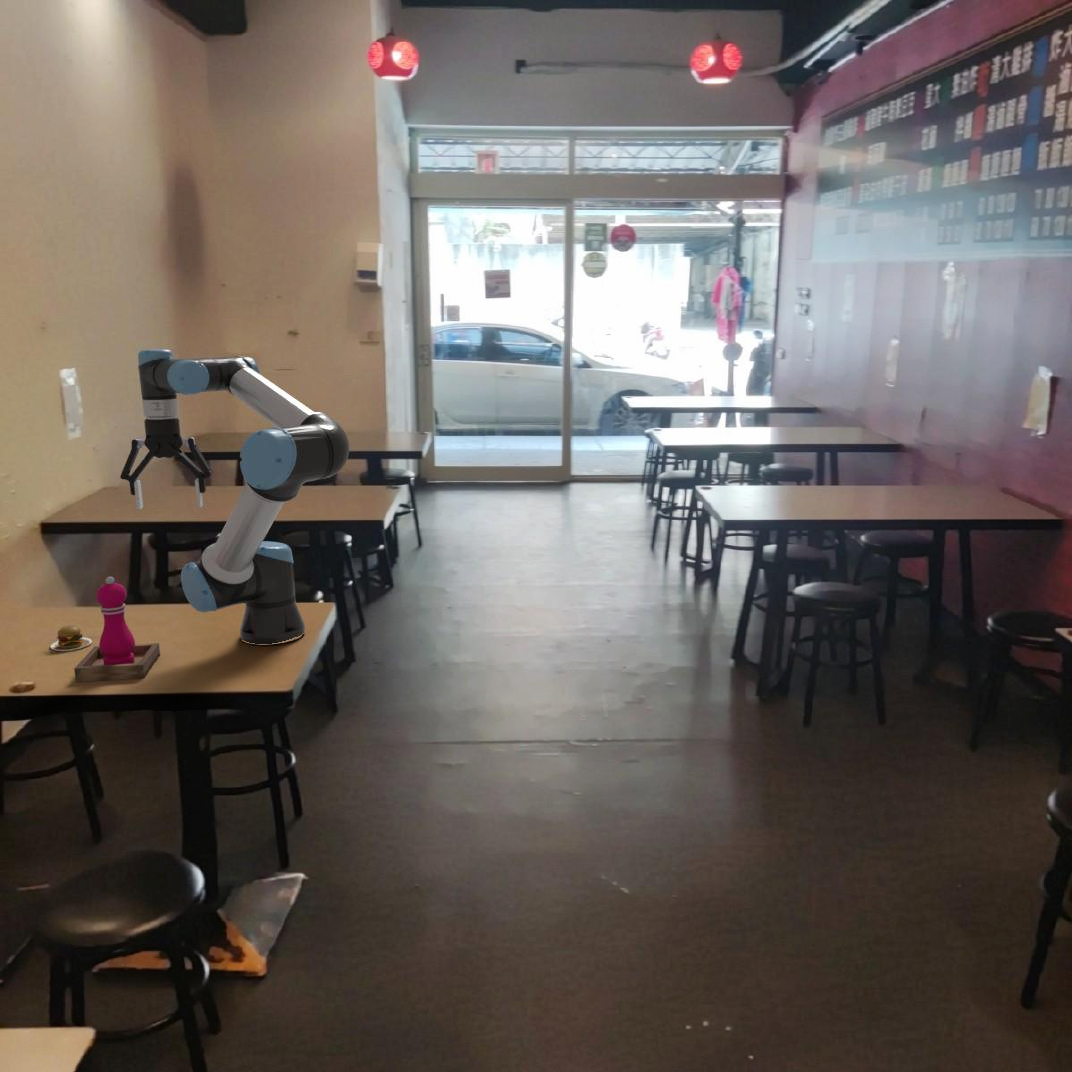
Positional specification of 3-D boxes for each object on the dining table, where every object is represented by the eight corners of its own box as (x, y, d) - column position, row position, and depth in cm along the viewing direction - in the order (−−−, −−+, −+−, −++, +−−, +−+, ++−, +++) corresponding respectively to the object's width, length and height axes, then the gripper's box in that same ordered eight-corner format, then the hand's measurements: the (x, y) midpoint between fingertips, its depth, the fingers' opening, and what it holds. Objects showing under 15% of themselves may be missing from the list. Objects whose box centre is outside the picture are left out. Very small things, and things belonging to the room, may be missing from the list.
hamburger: (103, 637, 233) (101, 616, 232) (93, 654, 222) (91, 632, 221) (50, 642, 231) (47, 620, 229) (37, 658, 219) (34, 636, 218)
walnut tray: (160, 655, 219) (158, 643, 218) (144, 678, 205) (143, 664, 205) (96, 658, 217) (94, 646, 216) (75, 681, 204) (74, 668, 203)
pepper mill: (143, 658, 214) (133, 572, 210) (126, 670, 207) (116, 581, 203) (112, 657, 215) (102, 571, 210) (95, 669, 208) (84, 580, 203)
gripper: (99, 420, 215) (110, 512, 220) (214, 417, 219) (221, 508, 223) (109, 416, 223) (119, 506, 227) (220, 414, 226) (227, 502, 231)
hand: (170, 507), depth 225 cm, fingers open, 13 cm apart
